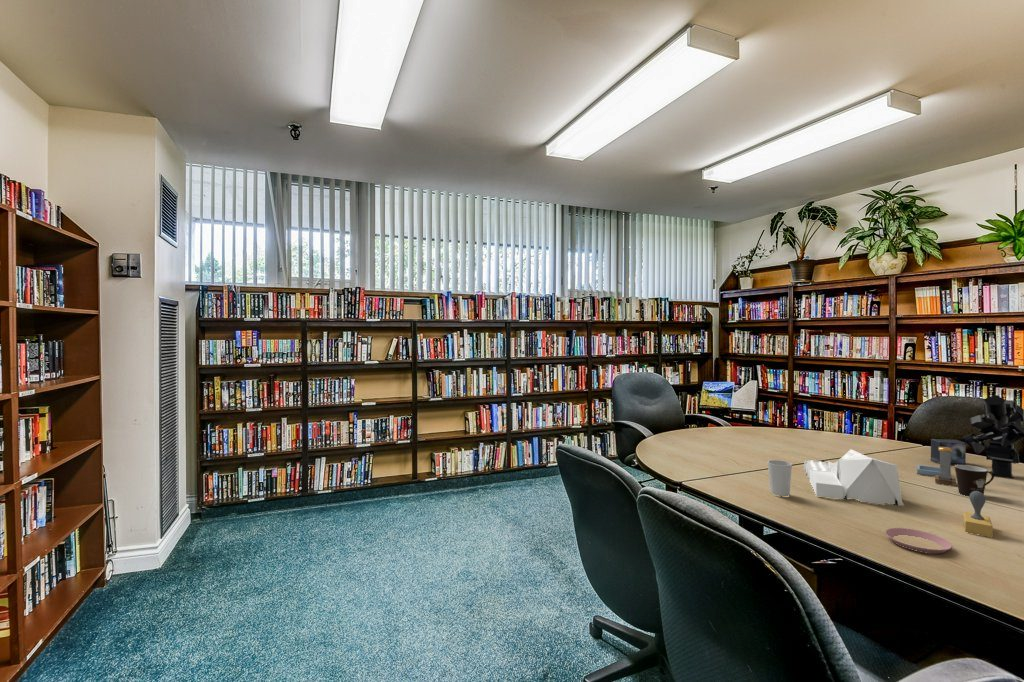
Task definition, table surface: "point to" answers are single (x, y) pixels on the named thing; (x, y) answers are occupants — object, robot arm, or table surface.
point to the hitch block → (945, 481)
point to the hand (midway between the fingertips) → (989, 450)
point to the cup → (779, 477)
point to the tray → (928, 470)
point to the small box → (956, 455)
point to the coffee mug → (971, 479)
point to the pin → (945, 462)
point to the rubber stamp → (977, 517)
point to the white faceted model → (855, 479)
